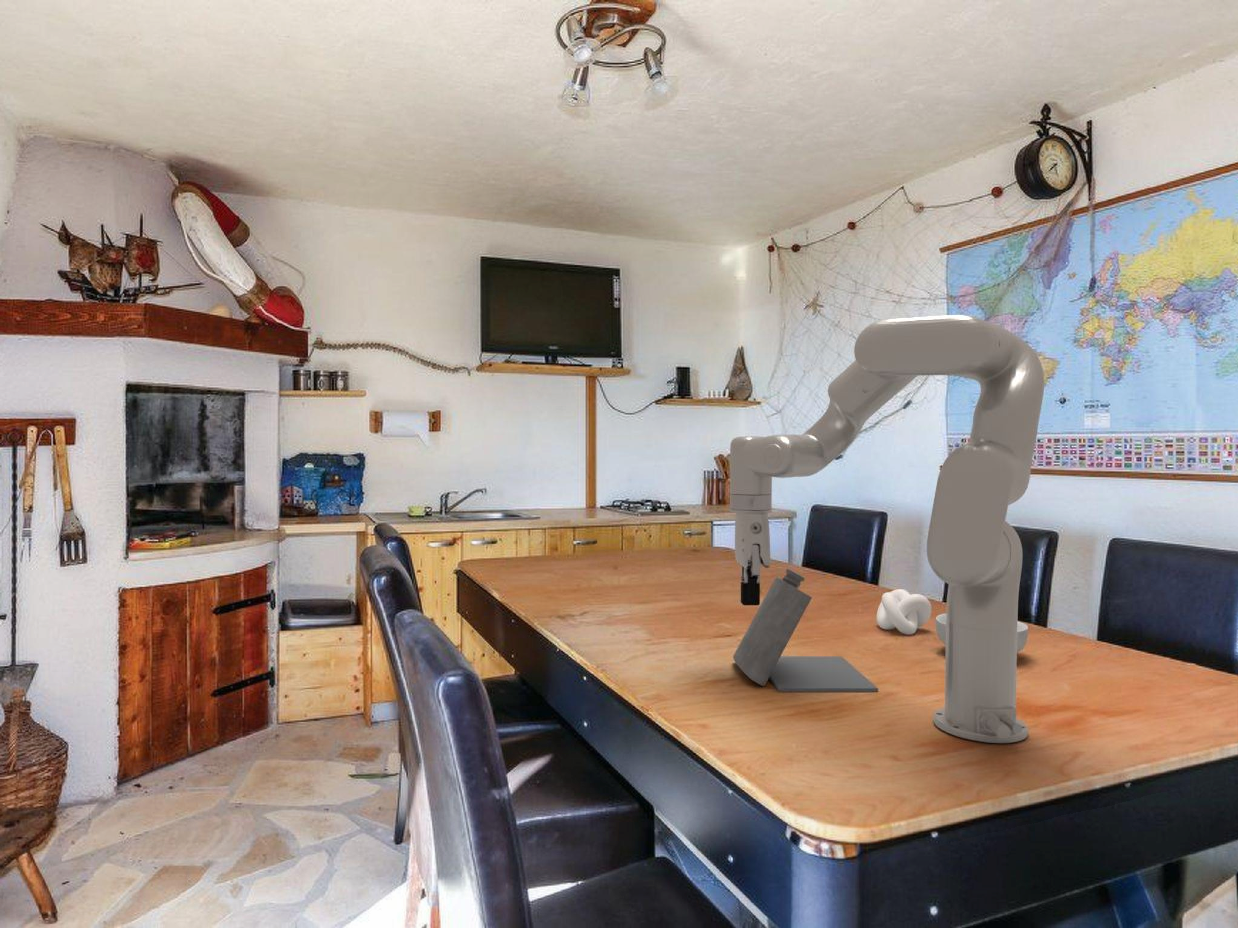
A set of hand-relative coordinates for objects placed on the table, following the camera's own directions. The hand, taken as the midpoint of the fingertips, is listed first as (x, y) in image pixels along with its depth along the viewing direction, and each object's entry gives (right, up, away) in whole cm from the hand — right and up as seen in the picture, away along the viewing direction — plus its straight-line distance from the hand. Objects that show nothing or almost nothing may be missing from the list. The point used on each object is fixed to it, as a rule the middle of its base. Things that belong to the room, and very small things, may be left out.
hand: (750, 604), depth 139 cm
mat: (+12, -13, +1) cm, 17 cm away
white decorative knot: (+41, -13, +35) cm, 56 cm away
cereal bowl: (+49, -13, +14) cm, 52 cm away
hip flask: (-1, -12, 0) cm, 12 cm away
